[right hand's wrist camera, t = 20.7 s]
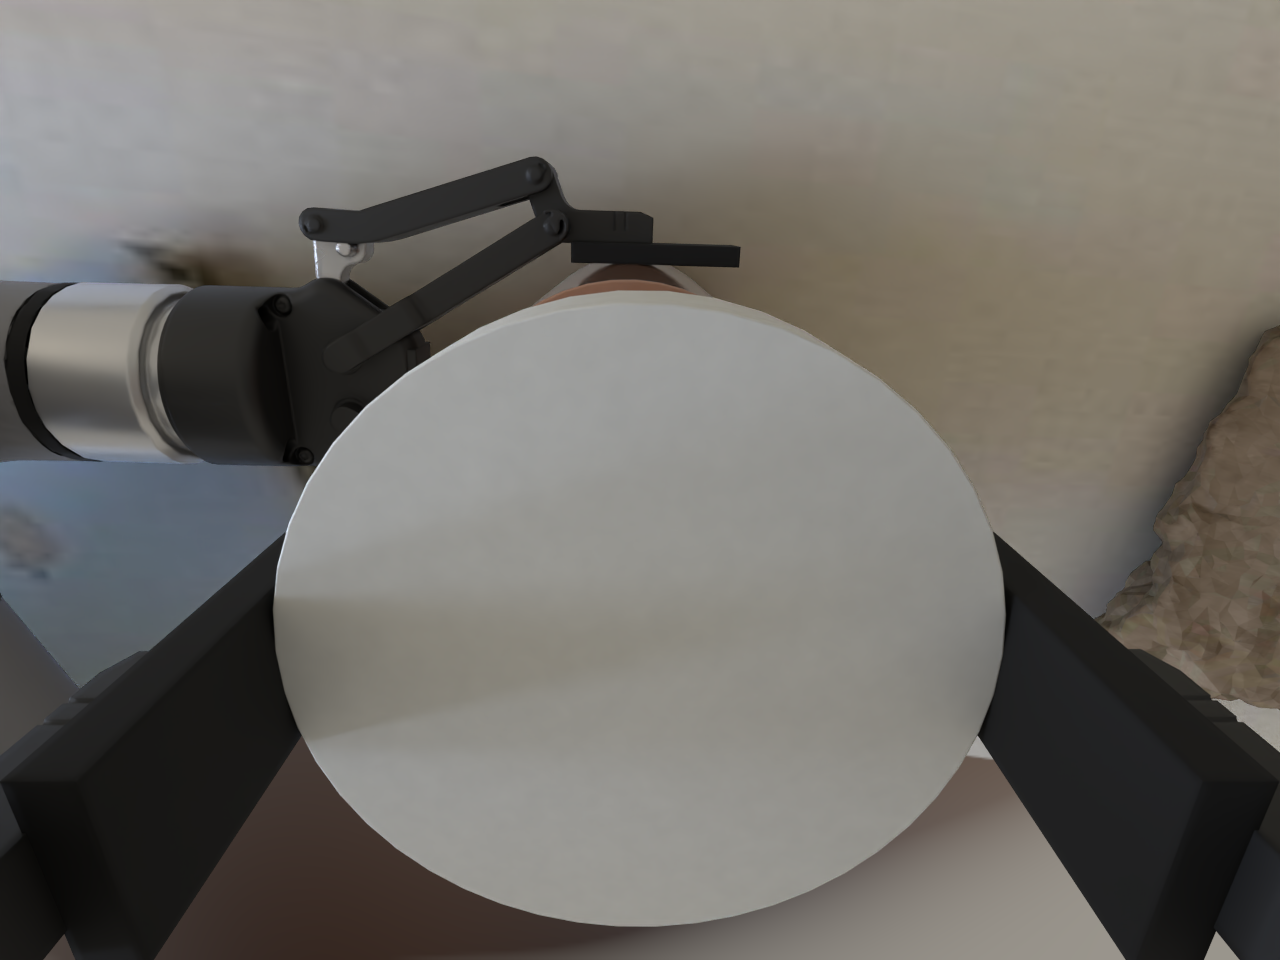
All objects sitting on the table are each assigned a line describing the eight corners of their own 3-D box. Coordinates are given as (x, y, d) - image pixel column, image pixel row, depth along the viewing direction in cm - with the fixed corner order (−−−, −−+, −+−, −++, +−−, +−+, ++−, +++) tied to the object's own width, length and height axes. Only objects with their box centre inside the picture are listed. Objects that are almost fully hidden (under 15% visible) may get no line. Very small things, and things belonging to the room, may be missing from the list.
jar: (758, 295, 34) (870, 356, 18) (689, 478, 37) (732, 667, 21) (560, 226, 33) (492, 227, 17) (507, 422, 36) (408, 578, 20)
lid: (277, 764, 13) (226, 840, 12) (397, 178, 10) (348, 168, 8) (798, 899, 15) (819, 984, 13) (1081, 428, 11) (1159, 463, 9)
